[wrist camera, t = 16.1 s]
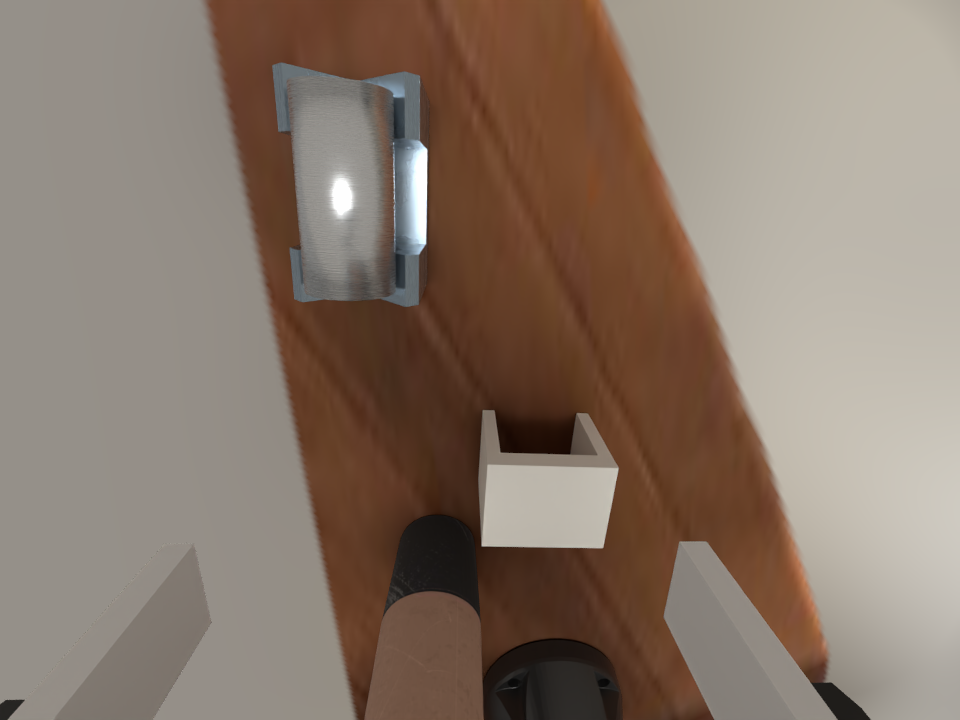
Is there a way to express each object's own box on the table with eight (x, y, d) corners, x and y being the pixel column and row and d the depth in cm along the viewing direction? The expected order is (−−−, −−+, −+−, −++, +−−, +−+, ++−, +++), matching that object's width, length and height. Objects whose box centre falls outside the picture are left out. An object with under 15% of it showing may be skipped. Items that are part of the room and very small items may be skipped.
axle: (410, 287, 27) (366, 305, 22) (339, 278, 28) (284, 293, 24) (410, 99, 23) (358, 75, 19) (328, 99, 25) (261, 76, 20)
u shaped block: (576, 482, 40) (603, 548, 33) (478, 479, 40) (481, 546, 32) (587, 413, 38) (618, 468, 30) (482, 409, 37) (487, 464, 30)
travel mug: (429, 586, 44) (404, 877, 25) (380, 538, 42) (313, 819, 23) (493, 550, 43) (516, 830, 24) (445, 498, 40) (431, 762, 22)
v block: (427, 283, 33) (417, 307, 26) (327, 278, 33) (290, 301, 26) (429, 101, 29) (418, 72, 22) (314, 93, 29) (266, 61, 22)
